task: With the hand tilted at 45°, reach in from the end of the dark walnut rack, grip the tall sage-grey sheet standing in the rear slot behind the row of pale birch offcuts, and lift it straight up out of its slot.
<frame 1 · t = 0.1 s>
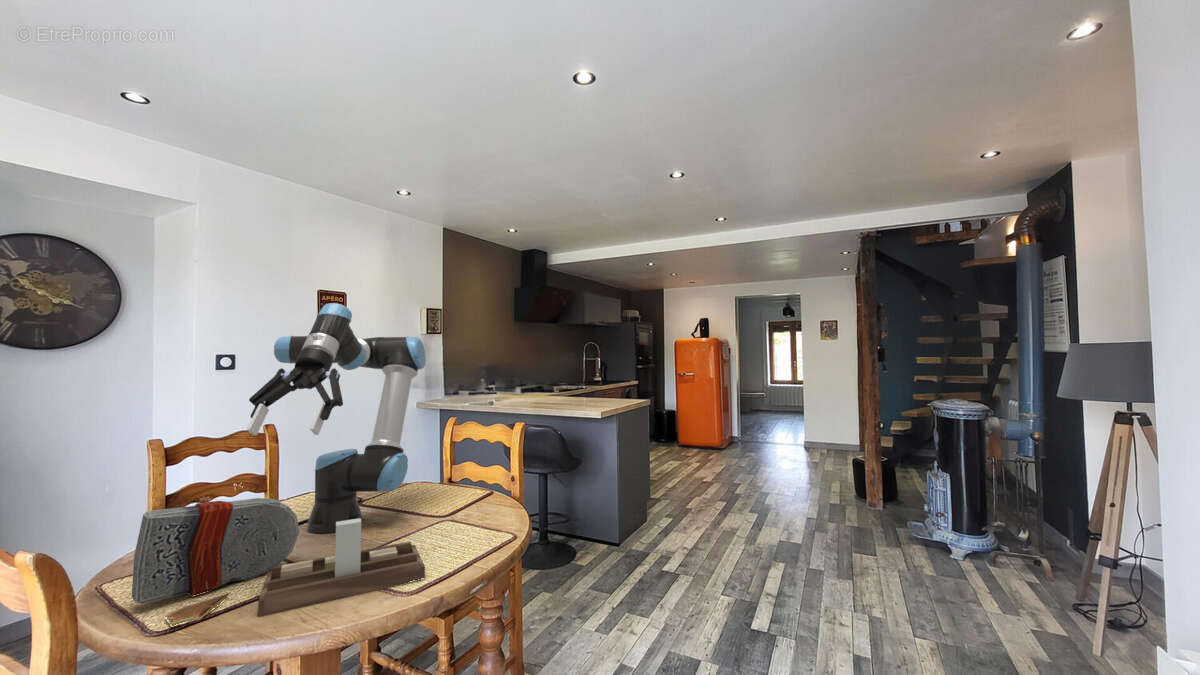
hand: (282, 432, 104), 36 cm above the table, tool tilted 35°, fingers open, 13 cm apart
birch offcut 3: (383, 570, 116), resting in walnut rack
decorative stone tablet: (222, 585, 109), on the table
walnut rack: (346, 580, 110), on the table
shard: (191, 616, 97), on the table
tall sheet: (347, 589, 106), resting in walnut rack
birch offcut 1: (296, 588, 107), resting in walnut rack
birch offcut 2: (341, 579, 112), resting in walnut rack
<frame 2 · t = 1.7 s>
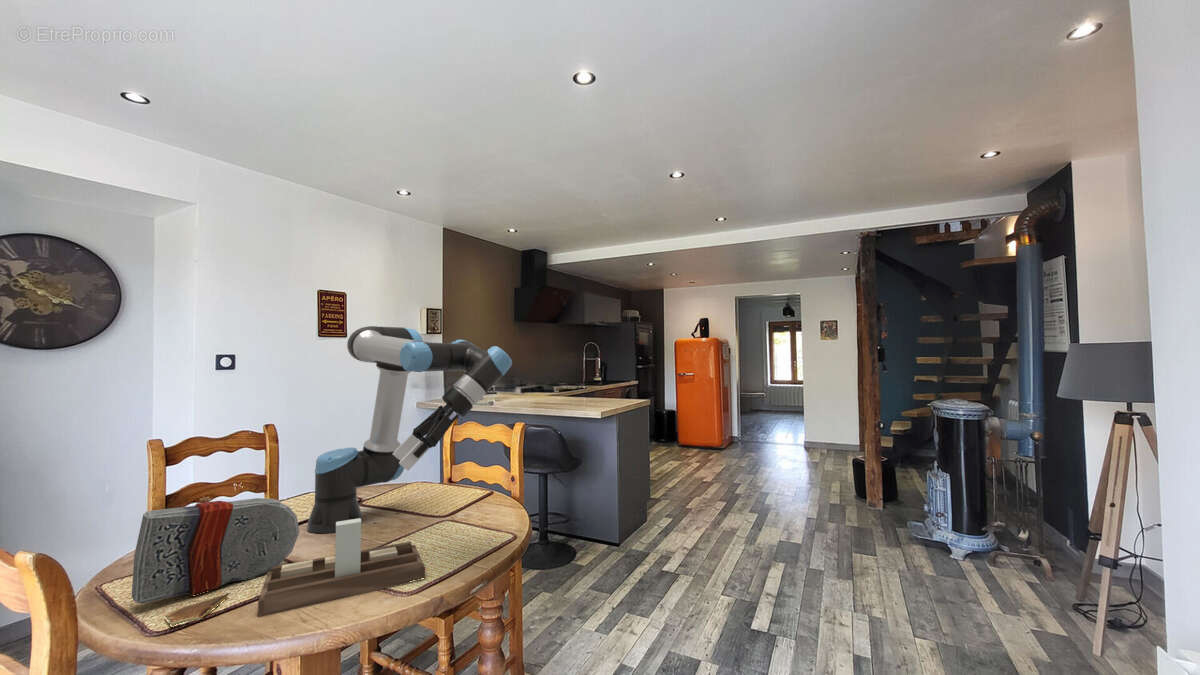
hand: (399, 462, 113), 27 cm above the table, tool tilted 45°, fingers open, 13 cm apart
nothing on the table moved.
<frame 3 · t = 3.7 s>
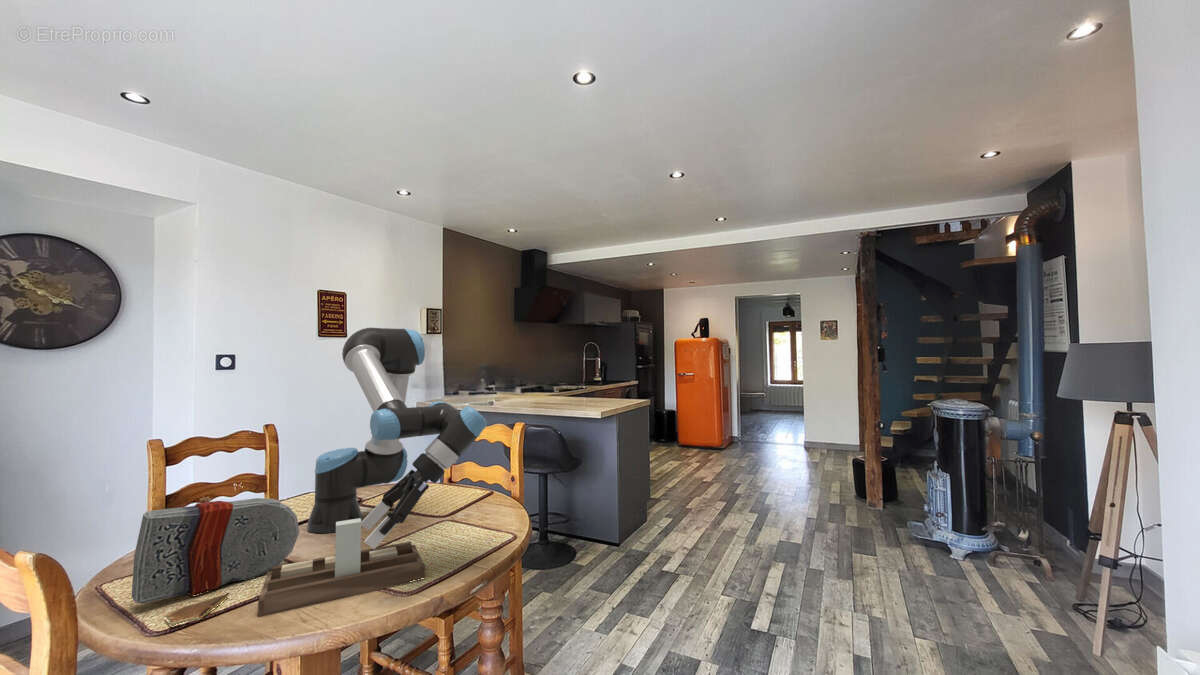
hand: (366, 535, 108), 12 cm above the table, tool tilted 45°, fingers open, 13 cm apart
nothing on the table moved.
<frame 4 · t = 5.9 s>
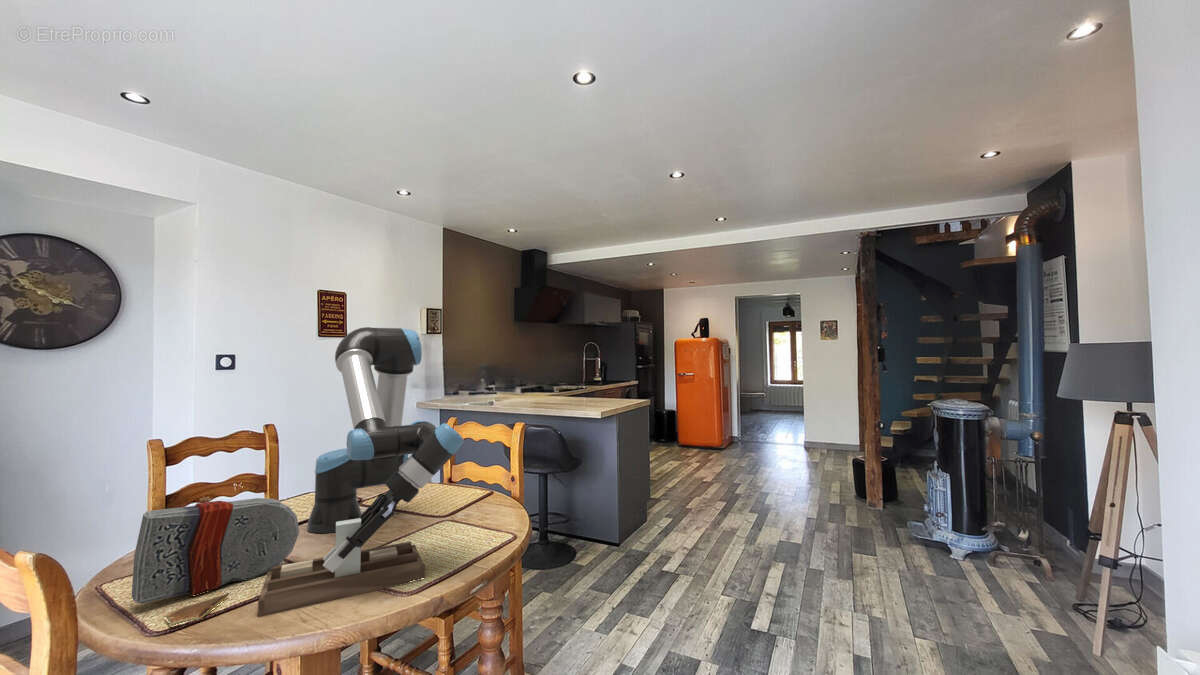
hand: (328, 565, 105), 6 cm above the table, tool tilted 45°, fingers closed on tall sheet, 3 cm apart
tall sheet: (347, 589, 106), resting in walnut rack, touching gripper
everything else where it was.
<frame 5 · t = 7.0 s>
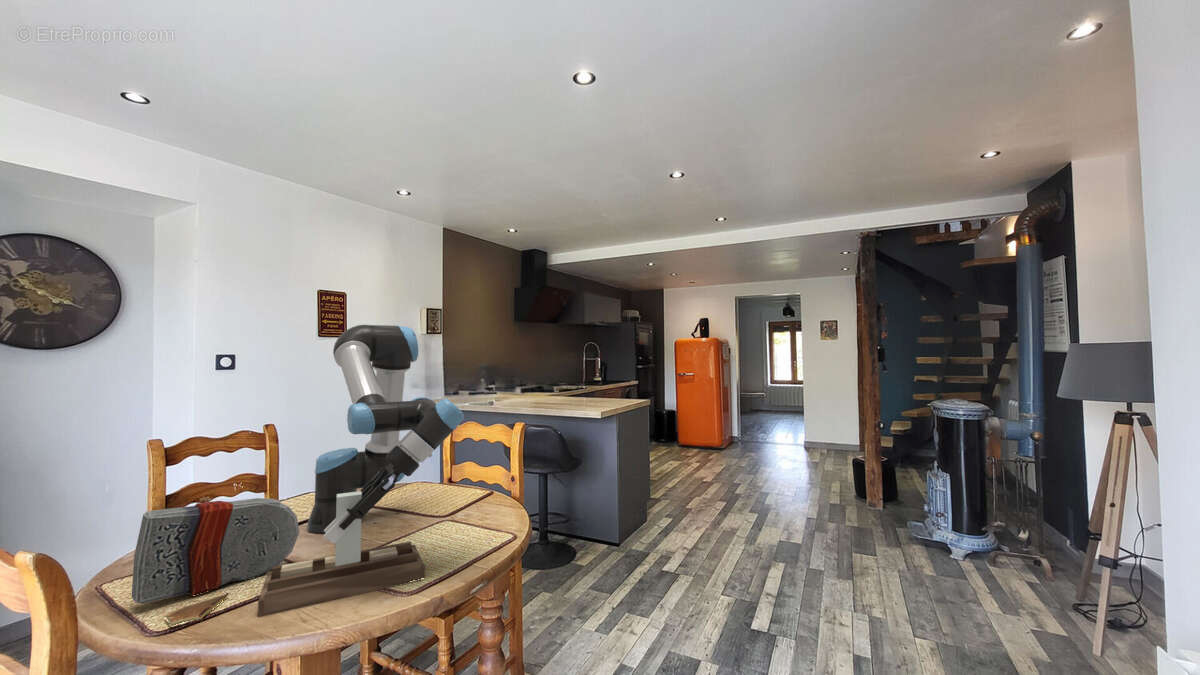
hand: (328, 536, 105), 12 cm above the table, tool tilted 45°, fingers closed on tall sheet, 3 cm apart
tall sheet: (347, 561, 107), point 6 cm above the table, touching gripper
everything else where it was.
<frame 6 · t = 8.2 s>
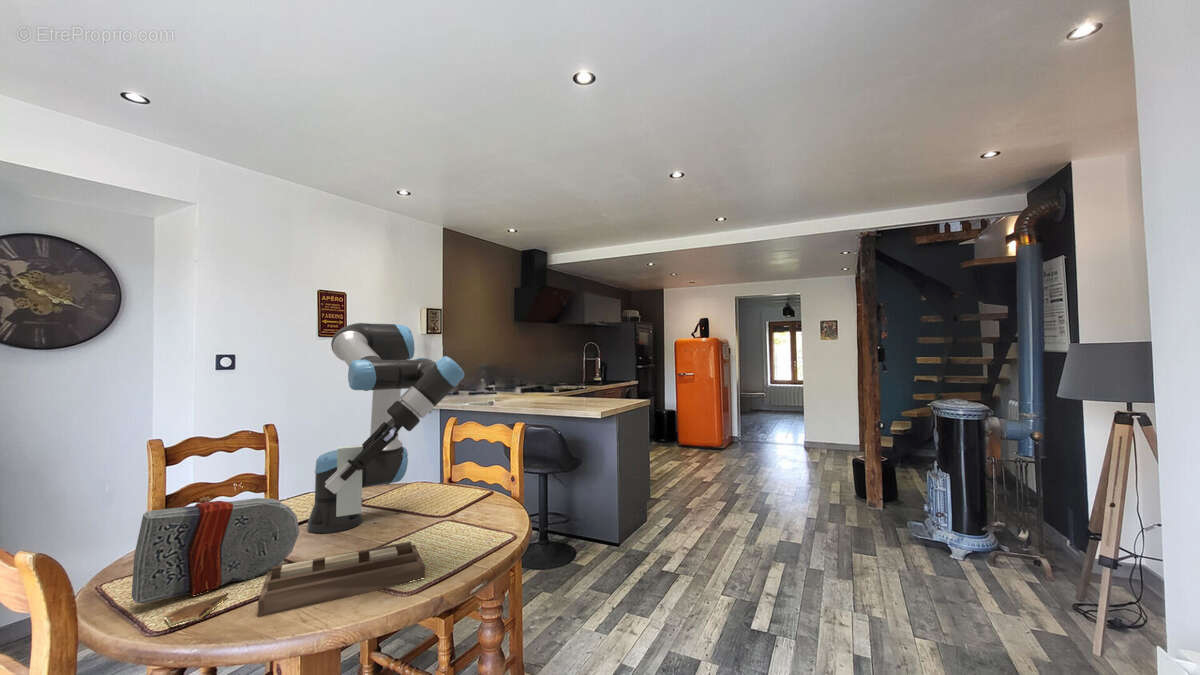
hand: (329, 487, 106), 23 cm above the table, tool tilted 45°, fingers closed on tall sheet, 3 cm apart
tall sheet: (348, 513, 107), point 17 cm above the table, touching gripper
everything else where it was.
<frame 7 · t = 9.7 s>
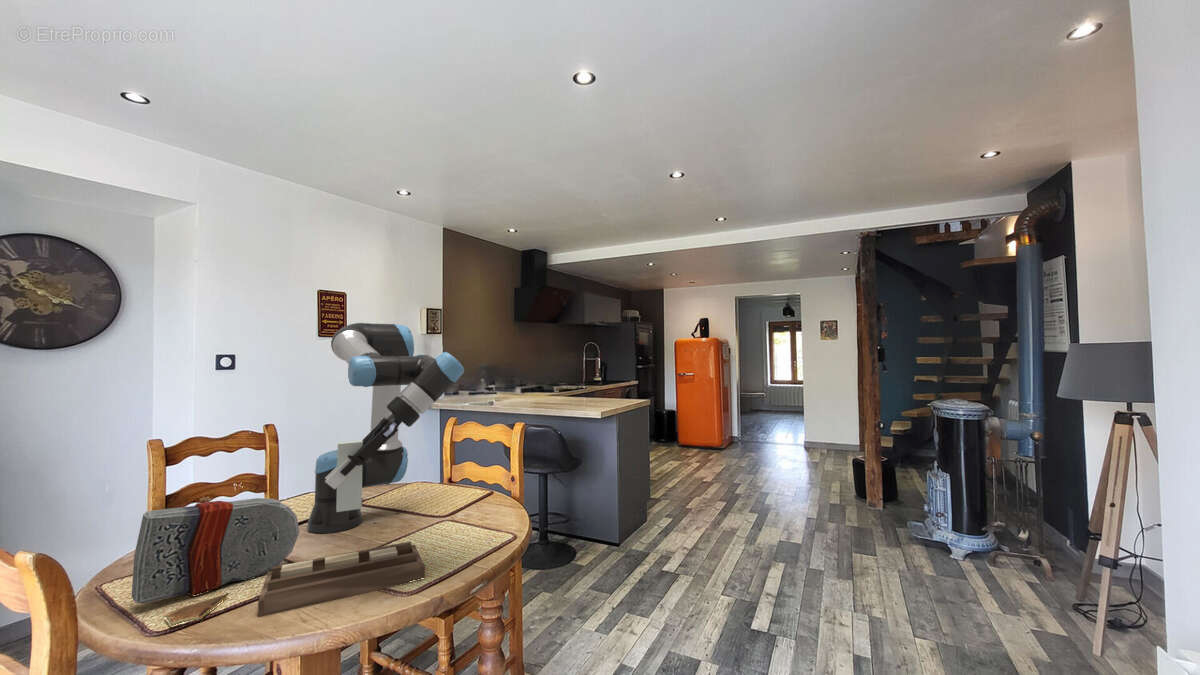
hand: (330, 483, 106), 24 cm above the table, tool tilted 45°, fingers closed on tall sheet, 3 cm apart
tall sheet: (348, 508, 107), point 18 cm above the table, touching gripper
everything else where it was.
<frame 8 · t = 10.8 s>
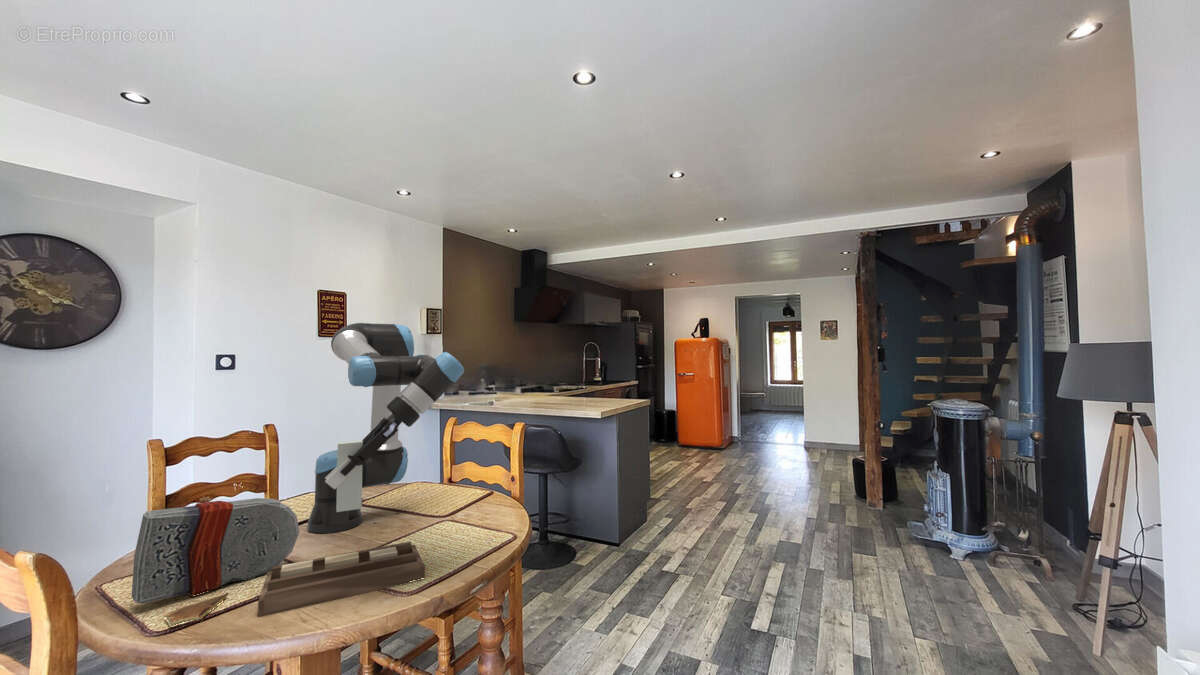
hand: (330, 483, 106), 24 cm above the table, tool tilted 45°, fingers closed on tall sheet, 3 cm apart
tall sheet: (348, 508, 107), point 18 cm above the table, touching gripper
everything else where it was.
at the end: the gripper is holding tall sheet; tall sheet point 17.9 cm above the table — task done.
